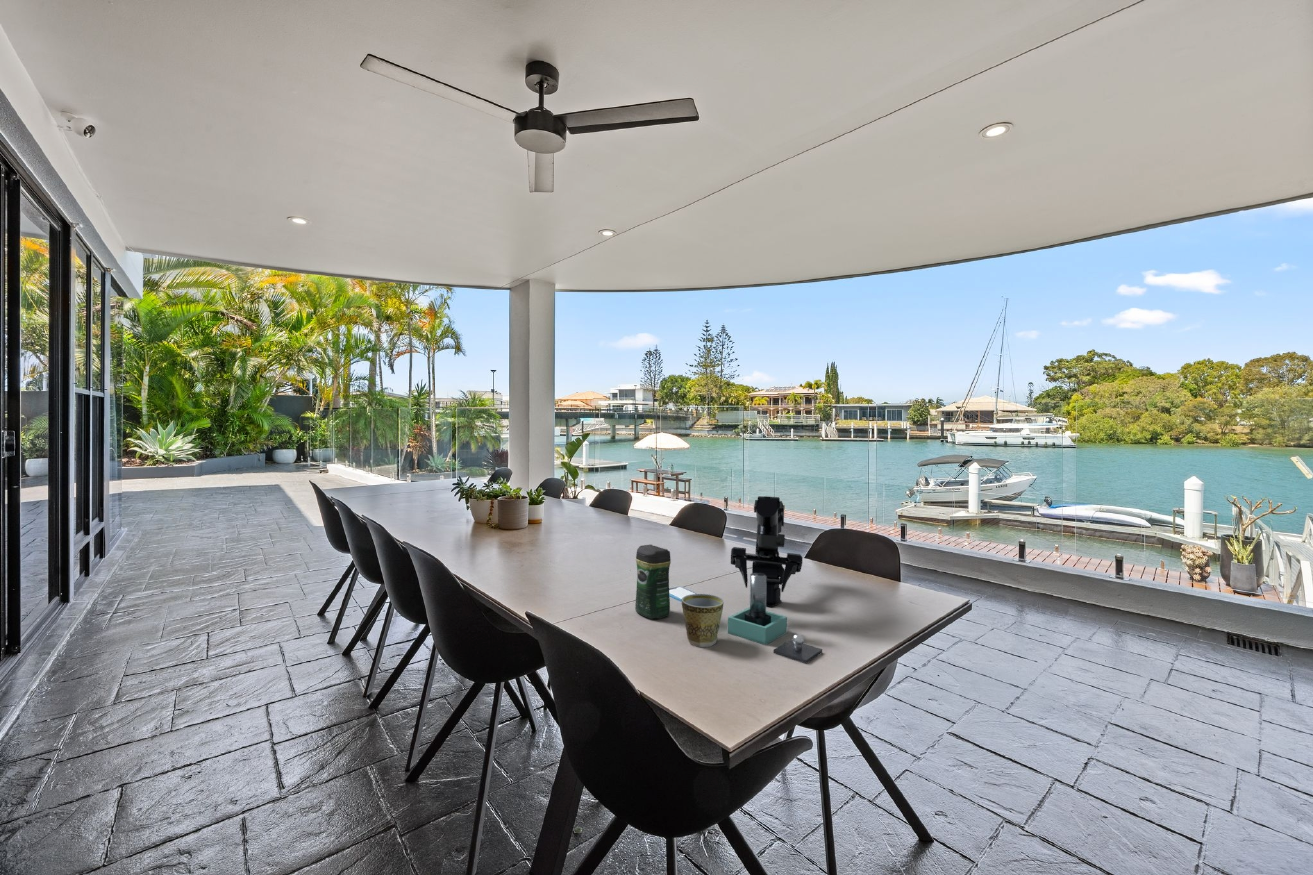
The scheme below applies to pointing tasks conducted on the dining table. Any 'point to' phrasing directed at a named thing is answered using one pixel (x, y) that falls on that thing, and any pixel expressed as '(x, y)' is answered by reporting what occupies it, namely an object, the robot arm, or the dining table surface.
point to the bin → (757, 627)
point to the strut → (758, 600)
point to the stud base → (798, 650)
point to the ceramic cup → (702, 618)
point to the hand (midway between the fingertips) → (764, 589)
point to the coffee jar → (652, 581)
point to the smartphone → (679, 593)
